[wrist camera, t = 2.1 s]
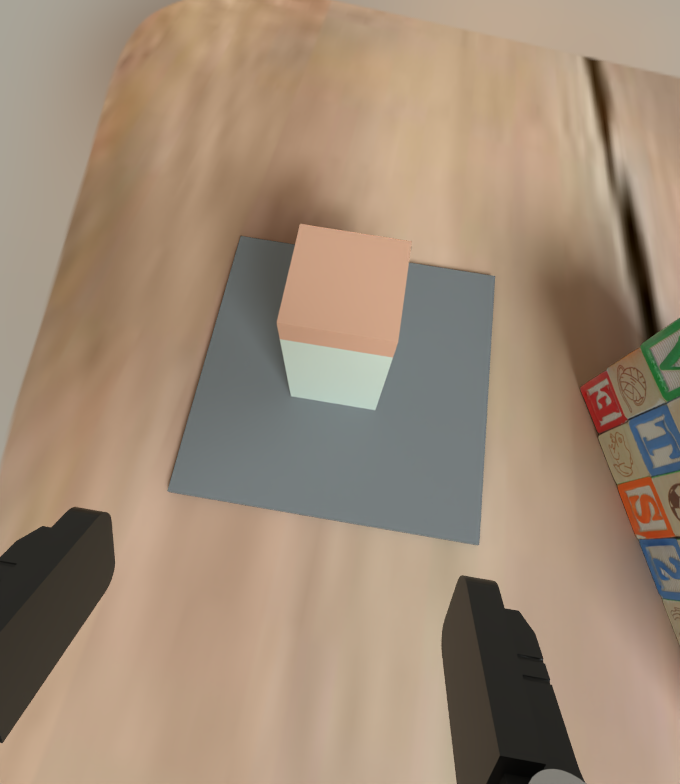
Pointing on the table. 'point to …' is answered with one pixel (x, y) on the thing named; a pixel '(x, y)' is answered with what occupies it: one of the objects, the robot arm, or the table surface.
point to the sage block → (342, 314)
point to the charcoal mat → (346, 410)
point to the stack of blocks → (646, 451)
